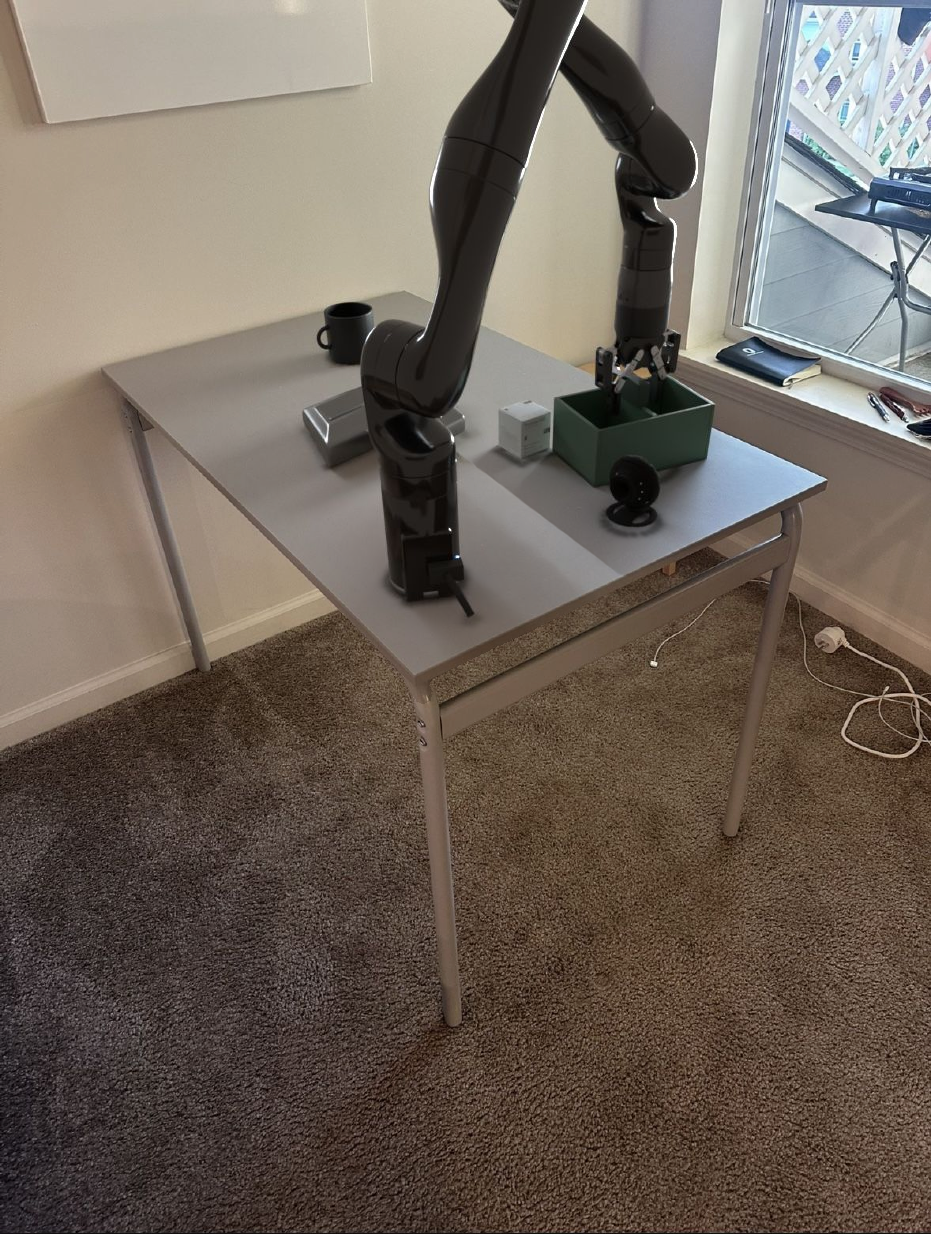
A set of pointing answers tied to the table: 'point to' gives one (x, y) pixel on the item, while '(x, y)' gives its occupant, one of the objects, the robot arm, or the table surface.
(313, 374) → the table surface
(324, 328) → the mug
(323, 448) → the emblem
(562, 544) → the table surface
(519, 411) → the product carton
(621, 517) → the webcam
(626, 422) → the bin
